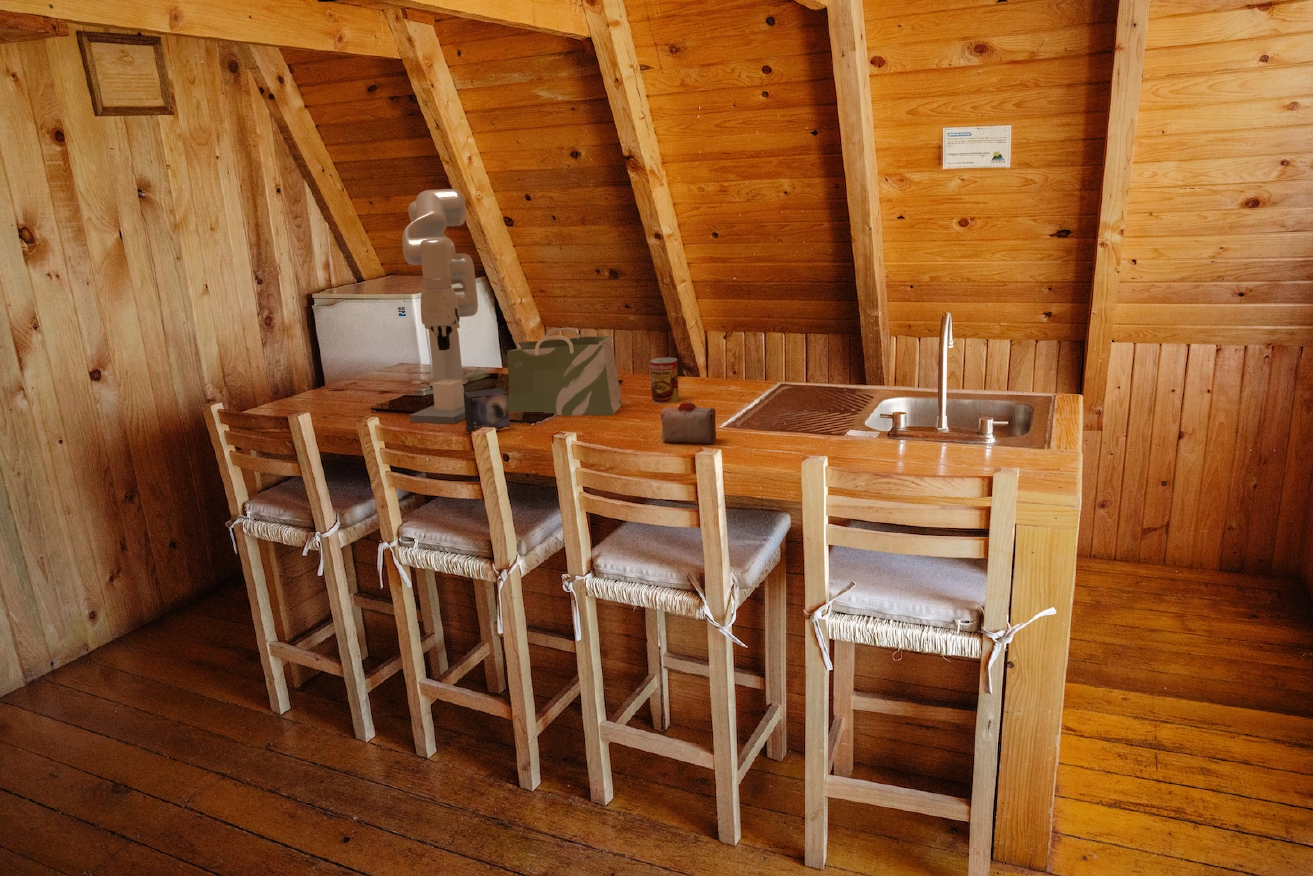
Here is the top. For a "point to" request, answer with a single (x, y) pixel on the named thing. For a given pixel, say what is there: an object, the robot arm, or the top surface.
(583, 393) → the grocery bag
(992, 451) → the top surface
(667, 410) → the food item
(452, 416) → the post base
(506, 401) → the small box
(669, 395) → the canned food
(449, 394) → the tan cardboard cube
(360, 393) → the top surface
